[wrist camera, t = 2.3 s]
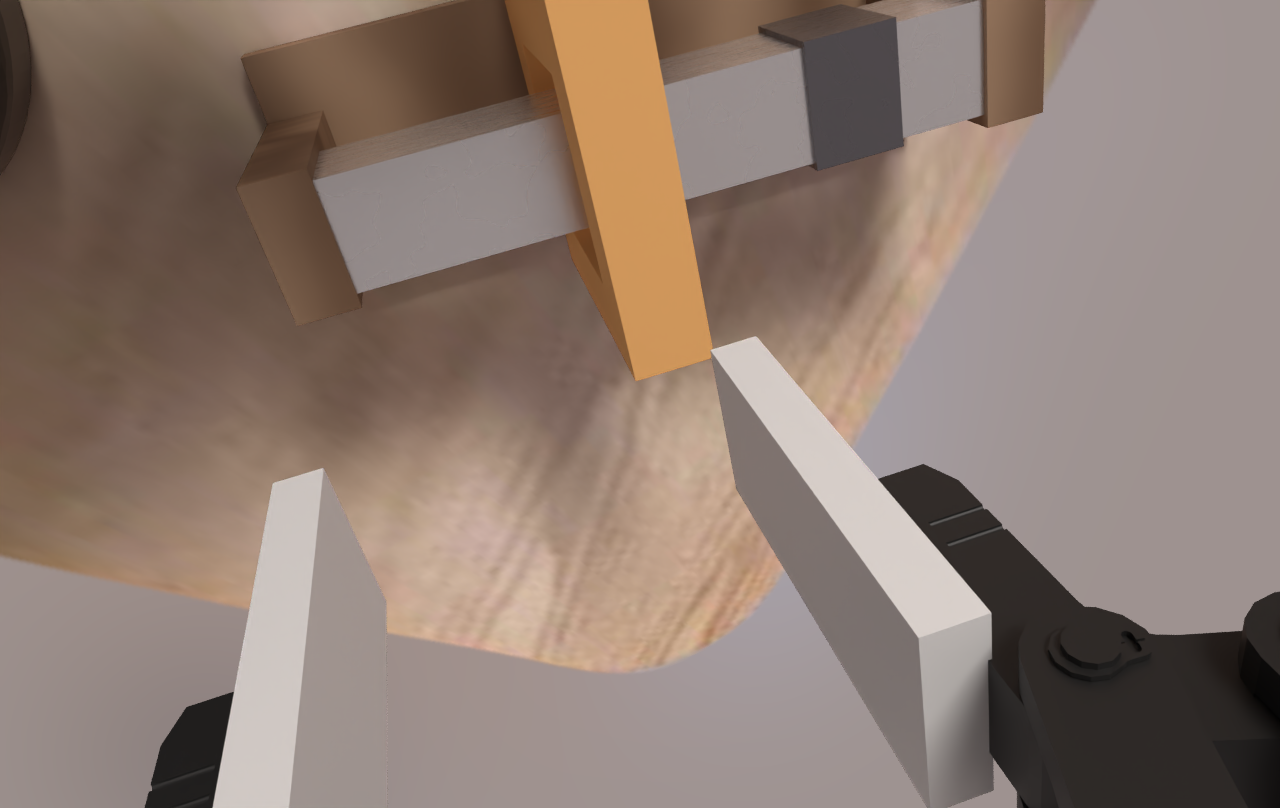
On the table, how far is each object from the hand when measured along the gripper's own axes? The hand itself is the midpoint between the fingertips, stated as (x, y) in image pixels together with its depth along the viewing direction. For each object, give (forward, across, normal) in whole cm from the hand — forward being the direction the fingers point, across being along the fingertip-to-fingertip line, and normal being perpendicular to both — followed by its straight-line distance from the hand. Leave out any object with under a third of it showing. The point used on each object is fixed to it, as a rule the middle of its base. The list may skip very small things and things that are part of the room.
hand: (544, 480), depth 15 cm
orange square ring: (+23, +4, 0) cm, 23 cm away
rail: (+19, +6, 0) cm, 20 cm away
